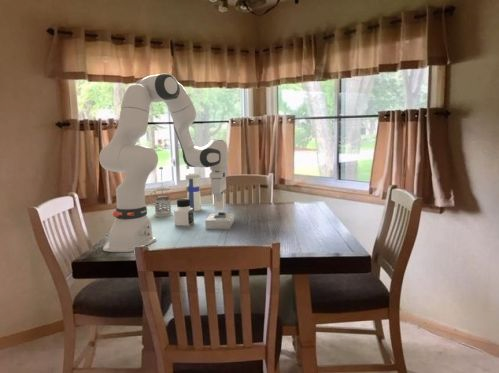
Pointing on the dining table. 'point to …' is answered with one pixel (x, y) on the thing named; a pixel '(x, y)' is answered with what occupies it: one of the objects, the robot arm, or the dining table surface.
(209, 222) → the socket
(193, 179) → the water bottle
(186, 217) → the medicine bottle
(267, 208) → the dining table surface
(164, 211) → the french press
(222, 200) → the plug
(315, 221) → the dining table surface
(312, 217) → the dining table surface
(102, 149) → the robot arm
